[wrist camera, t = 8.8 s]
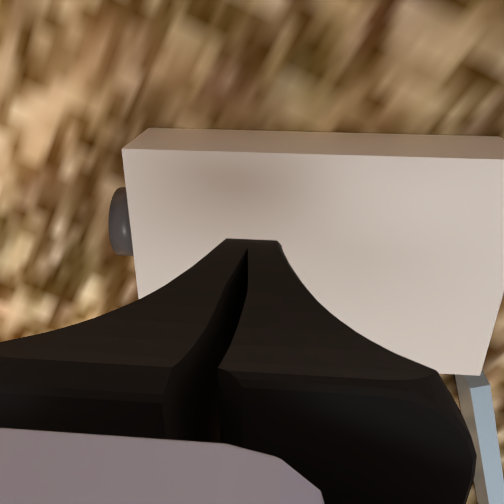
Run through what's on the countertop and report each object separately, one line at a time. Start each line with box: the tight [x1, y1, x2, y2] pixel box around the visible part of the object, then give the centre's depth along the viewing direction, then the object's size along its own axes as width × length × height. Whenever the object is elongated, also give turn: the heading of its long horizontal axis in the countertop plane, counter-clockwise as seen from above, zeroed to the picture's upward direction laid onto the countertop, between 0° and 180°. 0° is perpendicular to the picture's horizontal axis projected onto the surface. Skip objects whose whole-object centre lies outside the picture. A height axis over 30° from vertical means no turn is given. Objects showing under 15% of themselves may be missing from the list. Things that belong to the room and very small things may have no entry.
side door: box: [455, 371, 504, 504], centre depth 24 cm, size 13×2×3 cm, turn 18°
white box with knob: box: [109, 128, 504, 376], centre depth 20 cm, size 15×9×4 cm, turn 90°
